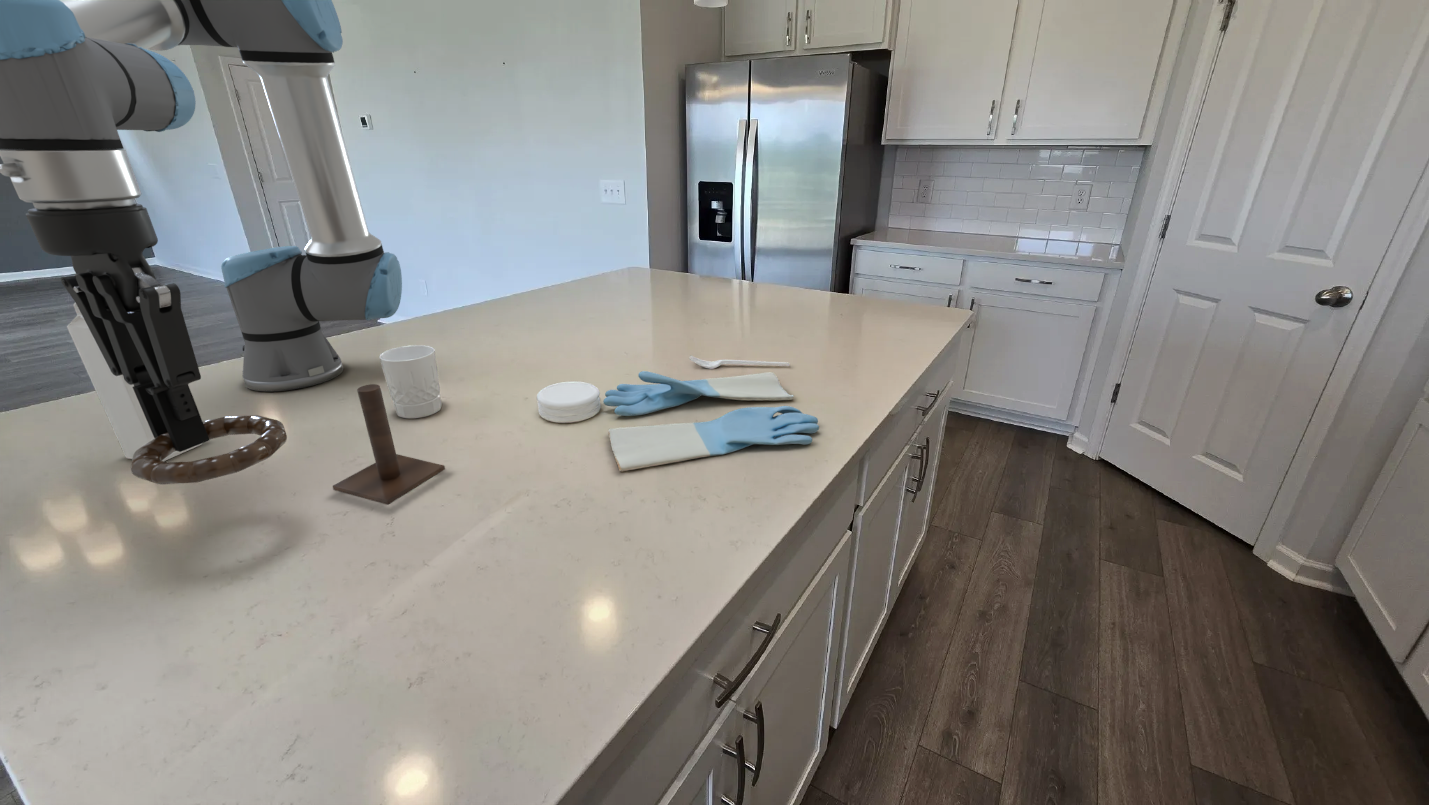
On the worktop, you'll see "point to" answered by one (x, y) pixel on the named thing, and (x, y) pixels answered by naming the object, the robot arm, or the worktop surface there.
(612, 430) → the rubber gloves
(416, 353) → the white cup
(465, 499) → the worktop surface
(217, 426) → the ring
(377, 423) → the stand
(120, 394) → the milk
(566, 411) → the white short cylinder
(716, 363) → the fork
